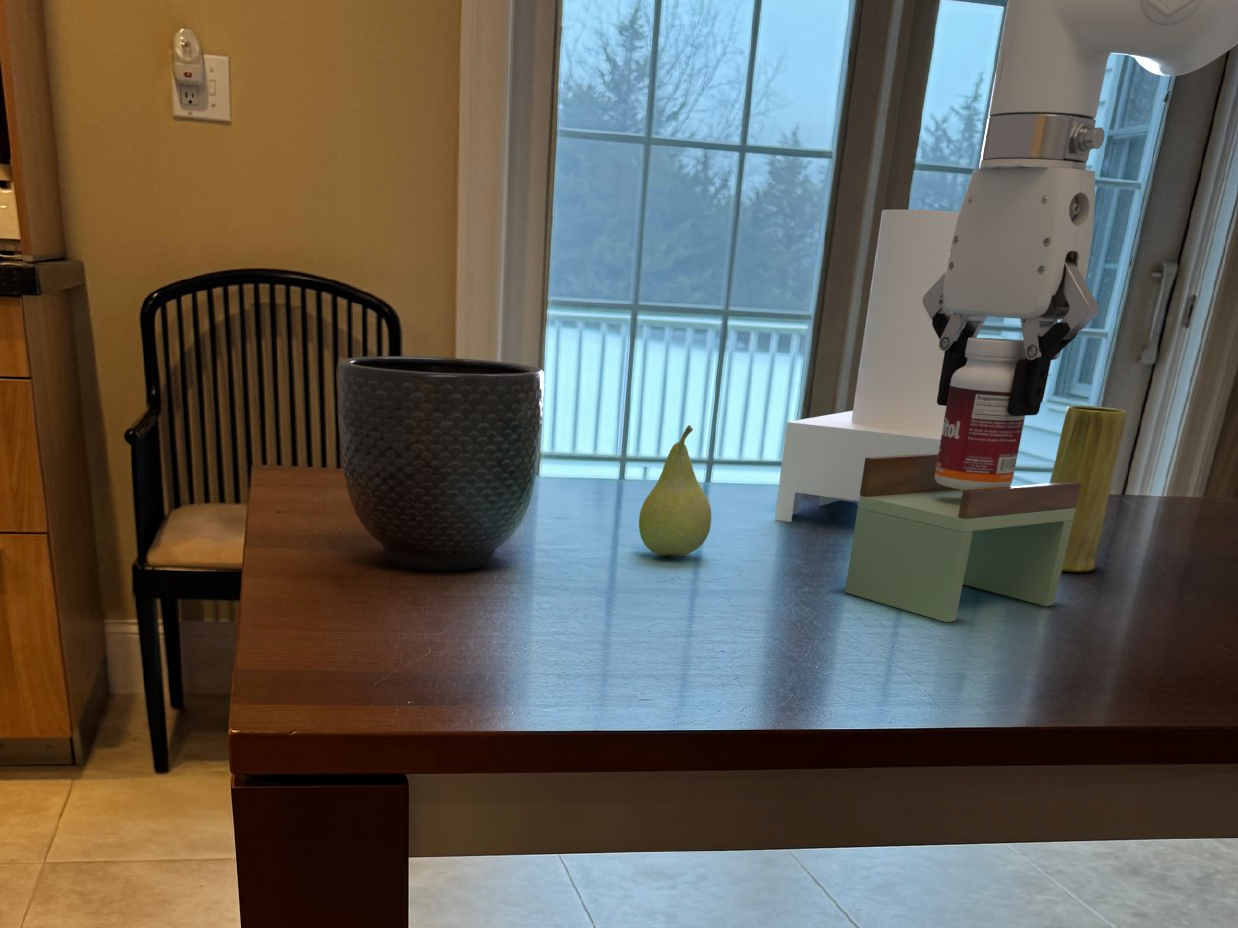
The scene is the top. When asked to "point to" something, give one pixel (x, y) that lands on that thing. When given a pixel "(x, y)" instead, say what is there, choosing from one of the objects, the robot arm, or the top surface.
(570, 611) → the top surface
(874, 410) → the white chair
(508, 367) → the planter
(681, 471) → the fruit
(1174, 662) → the top surface
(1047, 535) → the stand
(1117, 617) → the top surface
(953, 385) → the pill bottle
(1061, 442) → the vase
